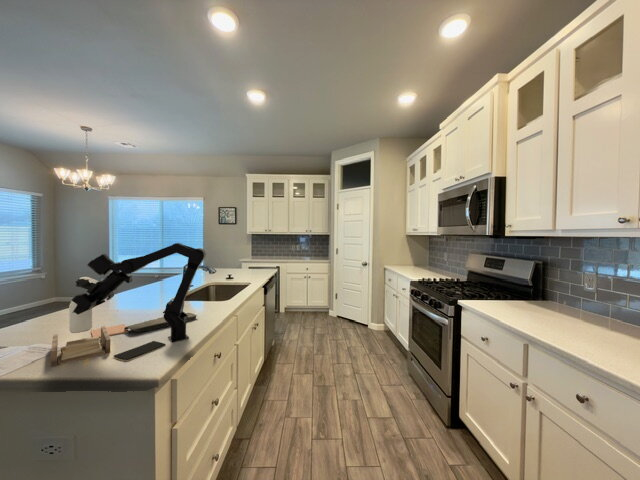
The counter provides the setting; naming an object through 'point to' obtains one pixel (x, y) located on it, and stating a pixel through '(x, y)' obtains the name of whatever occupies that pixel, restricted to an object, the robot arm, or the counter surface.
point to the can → (79, 320)
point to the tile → (110, 330)
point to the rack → (80, 348)
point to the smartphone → (139, 351)
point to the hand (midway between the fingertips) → (76, 313)
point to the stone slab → (155, 324)
